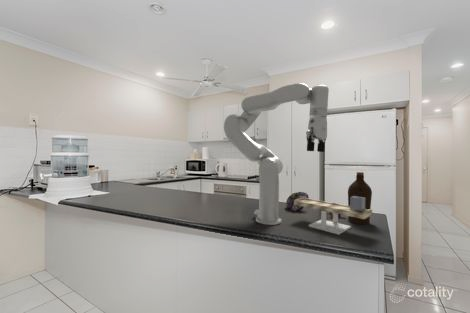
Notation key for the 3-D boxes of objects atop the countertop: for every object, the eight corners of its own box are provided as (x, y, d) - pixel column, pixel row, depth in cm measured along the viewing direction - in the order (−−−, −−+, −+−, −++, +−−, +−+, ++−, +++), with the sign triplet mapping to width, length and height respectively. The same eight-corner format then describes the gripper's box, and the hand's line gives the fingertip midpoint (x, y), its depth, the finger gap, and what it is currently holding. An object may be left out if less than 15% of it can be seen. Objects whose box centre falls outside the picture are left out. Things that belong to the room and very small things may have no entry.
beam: (293, 206, 114) (293, 199, 114) (304, 203, 122) (304, 197, 122) (363, 221, 91) (364, 213, 91) (372, 216, 98) (372, 208, 98)
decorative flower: (279, 191, 144) (302, 185, 144) (283, 207, 147) (305, 201, 147) (285, 202, 130) (311, 195, 130) (289, 219, 134) (314, 213, 133)
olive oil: (375, 225, 111) (377, 173, 111) (355, 225, 110) (356, 173, 110) (361, 218, 122) (363, 171, 121) (342, 218, 121) (344, 171, 120)
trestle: (308, 226, 107) (308, 208, 107) (321, 220, 116) (322, 204, 116) (338, 234, 97) (339, 214, 97) (350, 227, 106) (351, 209, 106)
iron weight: (349, 211, 98) (350, 197, 98) (353, 209, 101) (354, 195, 101) (361, 213, 94) (361, 198, 94) (364, 211, 98) (365, 197, 98)
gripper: (316, 110, 95) (314, 151, 96) (334, 115, 107) (332, 152, 108) (300, 111, 101) (298, 150, 101) (319, 116, 113) (317, 151, 113)
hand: (315, 151), depth 105 cm, fingers open, 9 cm apart
